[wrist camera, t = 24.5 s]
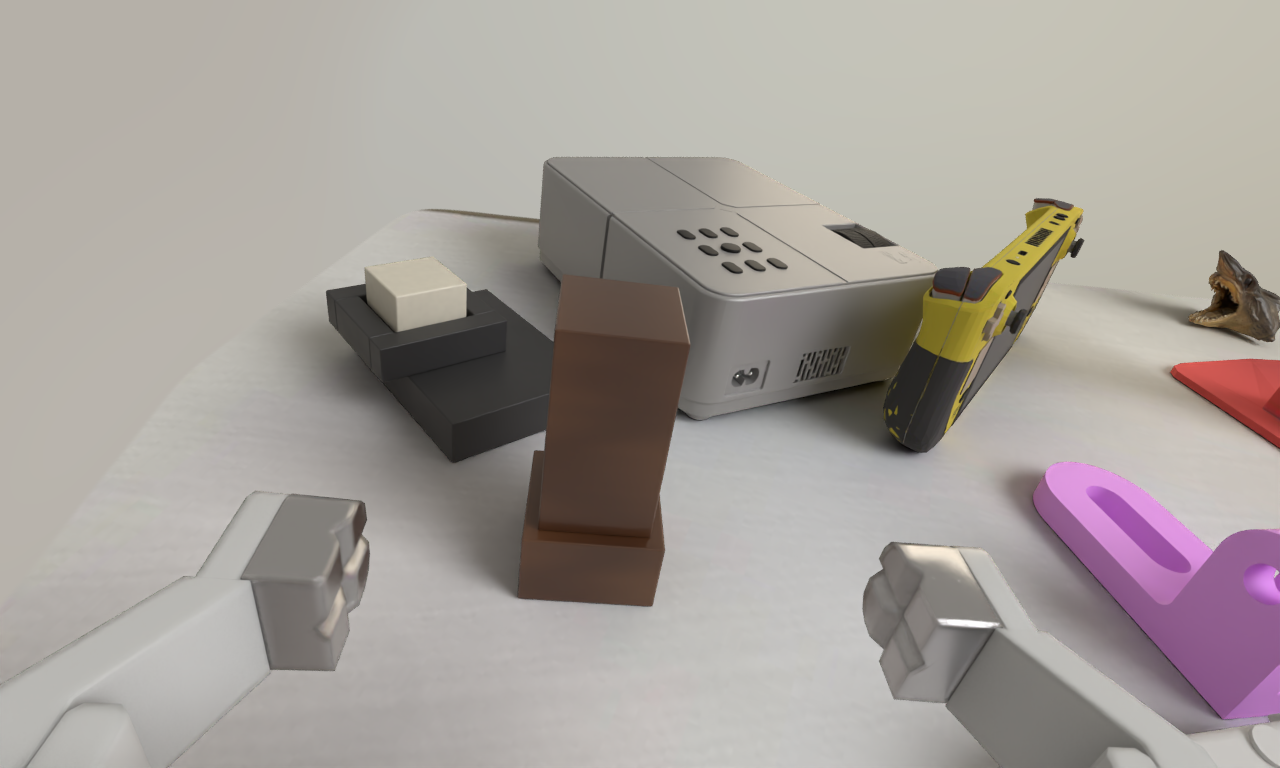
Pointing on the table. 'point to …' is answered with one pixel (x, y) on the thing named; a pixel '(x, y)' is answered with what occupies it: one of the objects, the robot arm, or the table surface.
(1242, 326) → the shark head
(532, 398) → the black stepped base
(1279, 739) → the game controller
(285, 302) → the table surface
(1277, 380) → the desk lamp
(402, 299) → the cream rectangular block
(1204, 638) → the bracket
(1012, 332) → the gaming console
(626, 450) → the brown stepped pedestal
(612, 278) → the projector
